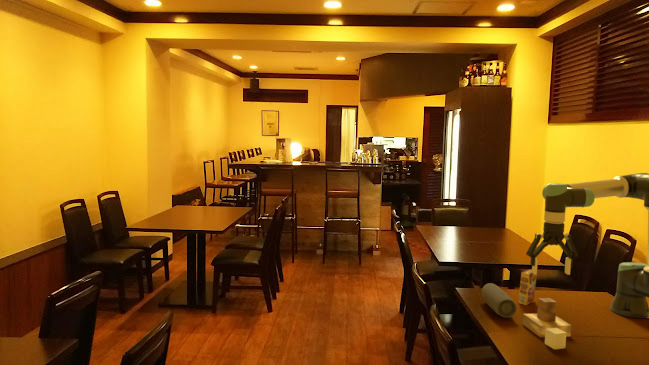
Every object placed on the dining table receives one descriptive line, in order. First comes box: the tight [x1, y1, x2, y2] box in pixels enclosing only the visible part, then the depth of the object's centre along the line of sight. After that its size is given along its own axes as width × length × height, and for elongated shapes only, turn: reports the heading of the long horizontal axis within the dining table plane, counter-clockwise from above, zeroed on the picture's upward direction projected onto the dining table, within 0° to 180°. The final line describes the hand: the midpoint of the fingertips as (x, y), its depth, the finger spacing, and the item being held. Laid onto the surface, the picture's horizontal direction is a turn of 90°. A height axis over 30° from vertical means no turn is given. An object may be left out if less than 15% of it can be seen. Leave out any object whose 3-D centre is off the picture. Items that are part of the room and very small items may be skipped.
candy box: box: [518, 269, 538, 306], centre depth 229 cm, size 9×4×15 cm, turn 134°
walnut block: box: [536, 297, 558, 321], centre depth 196 cm, size 5×5×8 cm
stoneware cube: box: [544, 328, 567, 350], centre depth 182 cm, size 5×5×6 cm
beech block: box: [522, 313, 572, 338], centre depth 197 cm, size 13×13×5 cm
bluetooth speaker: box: [480, 282, 518, 319], centre depth 217 cm, size 23×9×10 cm, turn 179°
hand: (550, 273), depth 195 cm, fingers open, 13 cm apart
